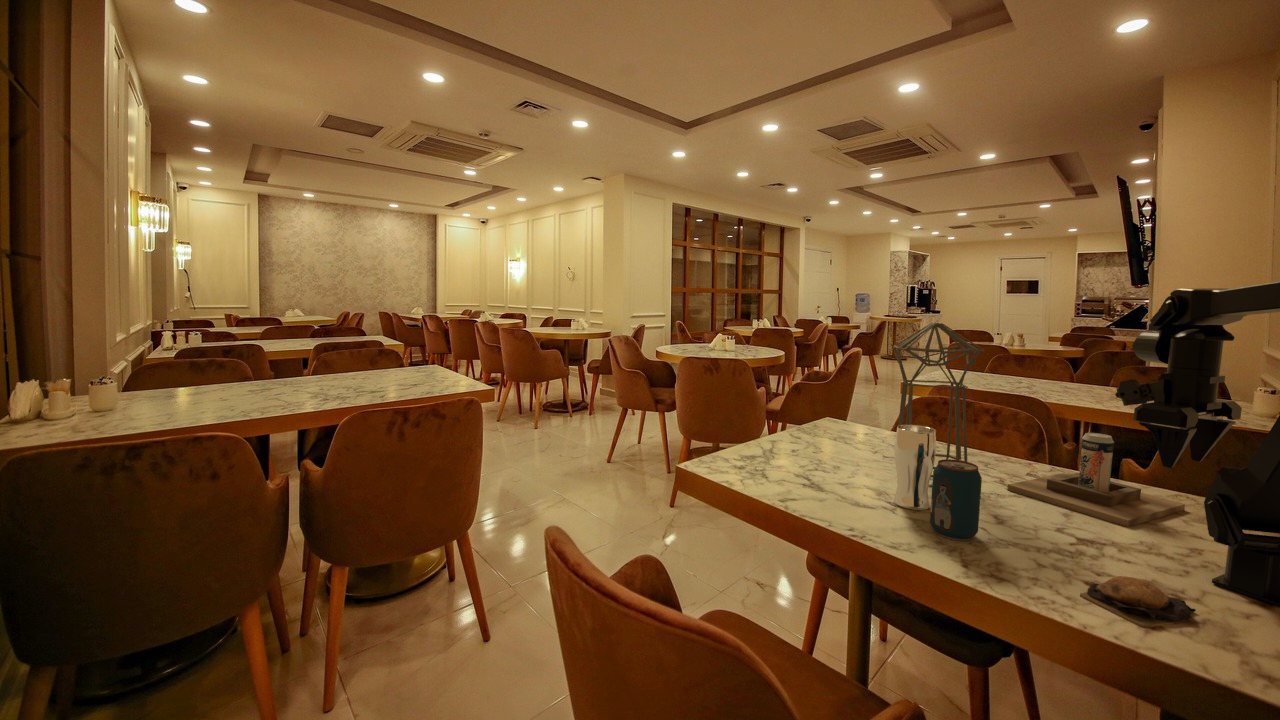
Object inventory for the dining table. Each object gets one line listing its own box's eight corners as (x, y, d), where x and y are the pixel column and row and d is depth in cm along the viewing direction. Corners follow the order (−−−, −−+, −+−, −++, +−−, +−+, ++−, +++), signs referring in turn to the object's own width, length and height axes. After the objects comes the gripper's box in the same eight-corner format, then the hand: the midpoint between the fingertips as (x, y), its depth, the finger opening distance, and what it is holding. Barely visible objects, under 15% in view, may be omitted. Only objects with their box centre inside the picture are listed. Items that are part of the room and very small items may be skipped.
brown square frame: (1127, 526, 90) (1129, 509, 90) (1007, 489, 108) (1008, 475, 108) (1184, 510, 98) (1186, 493, 98) (1063, 478, 116) (1064, 464, 116)
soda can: (976, 530, 88) (981, 462, 87) (978, 546, 82) (984, 473, 81) (929, 521, 92) (934, 455, 90) (928, 536, 86) (933, 466, 84)
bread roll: (1145, 635, 61) (1149, 606, 60) (1071, 596, 69) (1073, 570, 69) (1209, 622, 63) (1213, 594, 63) (1130, 586, 71) (1133, 561, 71)
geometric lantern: (892, 487, 109) (898, 322, 107) (887, 468, 124) (893, 322, 121) (979, 497, 103) (988, 322, 101) (964, 476, 118) (971, 322, 115)
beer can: (1070, 489, 105) (1076, 431, 104) (1095, 490, 105) (1101, 432, 104) (1089, 497, 101) (1095, 437, 99) (1115, 498, 100) (1121, 438, 99)
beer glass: (883, 500, 102) (887, 425, 100) (909, 496, 104) (914, 423, 103) (913, 513, 95) (918, 433, 94) (940, 508, 98) (945, 431, 96)
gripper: (1157, 361, 93) (1147, 446, 94) (1098, 364, 85) (1089, 456, 87) (1248, 367, 83) (1236, 462, 84) (1190, 372, 75) (1178, 476, 77)
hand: (1182, 463), depth 83 cm, fingers open, 9 cm apart
